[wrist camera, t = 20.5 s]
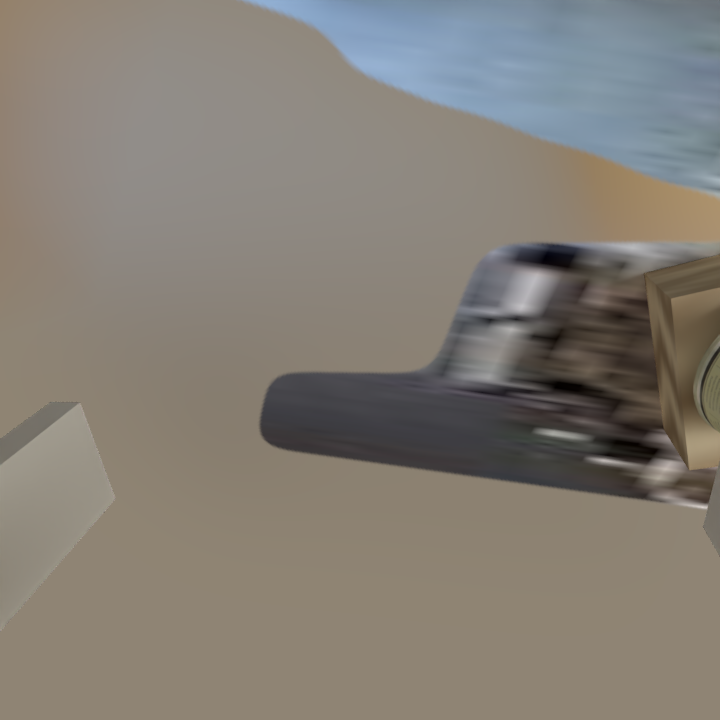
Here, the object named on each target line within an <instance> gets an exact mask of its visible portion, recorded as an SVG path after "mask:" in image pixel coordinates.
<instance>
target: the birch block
mask: <svg viewBox="0 0 720 720" xmlns="http://www.w3.org/2000/svg"><path fill="white" fill-rule="evenodd" d="M644 277H645V285H646V293H647V301H648V309H649V317H650V324H651V332H652V340H653V348H654V356H655V364H656V372H657V380H658V388H659V396H660V404H661V411H662V419H663V427H664V430H665V432H666V434H667V435H668V437H669V438H670V440H671V442H672V443H673V445H674V446H675V448H676V450H677V451H678V453H679V455H680V456H681V458H682V459H683V461H684V463H685V464H686V466H687V468H688V469H689V470H695V469H702V468H709V467H716V466H718V465H719V461H720V433H719V432H718V431H716V430H715V429H713V428H712V427H710V426H709V425H708V424H707V423H706V422H705V421H704V420H703V418H702V417H701V416H700V415H699V412H698V410H697V408H696V405H695V401H694V395H693V385H694V379H695V375H696V373H697V368H698V365H699V363H700V361H701V359H702V358H703V356H704V354H705V352H706V351H707V349H708V348H709V347H710V345H711V344H712V343H713V341H714V340H715V339H716V338H717V337H718V336H719V334H720V255H716V256H712V257H708V258H704V259H700V260H696V261H692V262H688V263H684V264H680V265H676V266H671V267H667V268H663V269H659V270H655V271H651V272H647V273H644Z"/></svg>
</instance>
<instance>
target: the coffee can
mask: <svg viewBox="0 0 720 720" xmlns="http://www.w3.org/2000/svg"><path fill="white" fill-rule="evenodd" d="M693 395H694V401H695V405H696V408H697V410H698V412H699V415H700V416H701V417H702V418H703V420H704V421H705V422H706V423H707V424H708V425H709V426H710V427H712V428H713V429H715V430H716V431H718V432H719V433H720V334H719V336H718V337H717V338H716V339H715V340H714V341H713V343H712V344H711V345H710V347H709V348H708V349H707V351H706V352H705V354H704V356H703V358H702V359H701V361H700V363H699V365H698V368H697V373H696V375H695V379H694V385H693Z"/></svg>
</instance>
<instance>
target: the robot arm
mask: <svg viewBox="0 0 720 720" xmlns="http://www.w3.org/2000/svg"><path fill="white" fill-rule="evenodd" d="M114 500H115V496H114V493H113V490H112V488H111V485H110V482H109V480H108V477H107V474H106V471H105V469H104V466H103V463H102V461H101V458H100V455H99V452H98V450H97V447H96V444H95V442H94V439H93V436H92V433H91V431H90V428H89V425H88V423H87V420H86V417H85V414H84V412H83V409H82V406H81V404H80V402H50V403H49V404H47V405H46V406H44V407H43V408H42V409H40V410H39V411H38V412H36V413H35V414H34V415H32V416H31V417H29V418H28V419H27V420H25V421H24V422H23V423H21V424H20V425H18V426H17V427H16V428H14V429H13V430H12V431H10V432H9V433H7V434H6V435H5V436H3V437H2V438H1V439H0V631H1V630H2V629H3V628H4V627H5V626H6V624H7V623H8V622H9V621H10V620H11V619H12V617H13V616H14V615H15V614H16V613H17V612H18V611H19V609H20V608H21V607H22V606H23V605H24V604H25V603H26V601H27V600H28V599H29V598H30V597H31V596H32V594H33V593H34V592H35V591H36V590H37V589H38V588H39V586H40V585H41V584H42V583H43V582H44V581H45V579H46V578H47V577H48V576H49V575H50V574H51V573H52V571H53V570H54V569H55V568H56V566H58V564H59V563H60V562H61V561H62V560H63V559H64V557H65V556H66V555H67V554H68V553H69V552H70V551H71V550H72V548H73V547H74V546H75V545H76V544H77V543H78V541H79V540H80V539H81V538H82V537H83V536H84V535H85V533H86V532H87V531H88V530H89V528H91V526H92V525H93V524H94V523H95V522H96V521H97V519H98V518H99V517H100V516H101V515H102V514H103V513H104V512H105V510H106V509H107V508H108V507H109V506H110V504H111V503H112V502H113V501H114ZM703 528H704V530H705V531H706V533H707V535H708V537H709V538H710V540H711V542H712V544H713V545H714V547H715V549H716V551H717V552H718V554H719V556H720V461H719V465H718V469H717V473H716V477H715V481H714V485H713V489H712V493H711V497H710V501H709V505H708V509H707V514H706V517H705V521H704V525H703Z"/></svg>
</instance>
